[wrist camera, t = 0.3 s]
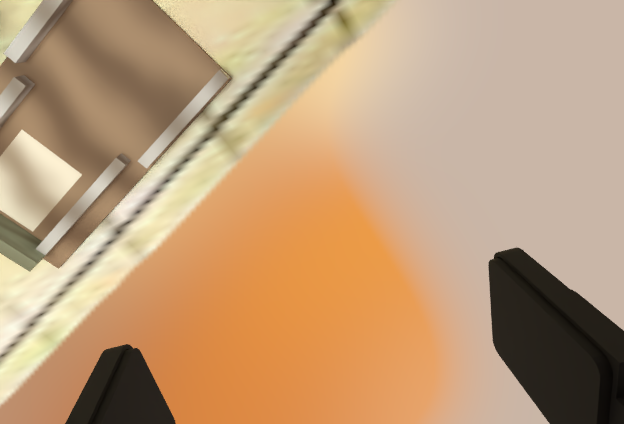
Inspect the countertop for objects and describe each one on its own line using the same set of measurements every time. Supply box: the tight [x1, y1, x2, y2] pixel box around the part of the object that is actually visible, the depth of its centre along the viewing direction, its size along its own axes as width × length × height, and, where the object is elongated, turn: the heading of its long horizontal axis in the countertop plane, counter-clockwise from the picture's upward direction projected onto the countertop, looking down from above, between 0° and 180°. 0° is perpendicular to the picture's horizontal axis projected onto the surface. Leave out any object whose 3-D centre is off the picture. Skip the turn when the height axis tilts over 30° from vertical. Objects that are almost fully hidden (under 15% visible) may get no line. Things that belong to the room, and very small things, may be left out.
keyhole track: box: [0, 0, 232, 271], centre depth 36 cm, size 26×14×3 cm, turn 134°
